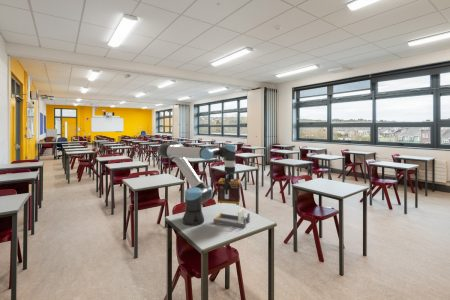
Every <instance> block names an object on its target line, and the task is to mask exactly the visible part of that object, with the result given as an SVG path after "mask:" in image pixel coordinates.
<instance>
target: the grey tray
mask: <svg viewBox="0 0 450 300" xmlns="http://www.w3.org/2000/svg"><path fill="white" fill-rule="evenodd" d="M246 217H247V219H246V218H244V221H243V222H242V223H238V215H234V214H230V213H229V214H227V213H223V212H220V213H218V215H217V216H215V217H214V218H213V220H212V221H213V224H220V225H224V226H231V227H236V228H237V227H238V228H242V229H243V228H244V229H245V228H246V227H247V224H248V223H250V221H251V216H250V213H247V216H246Z"/></svg>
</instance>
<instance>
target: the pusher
mask: <svg viewBox="0 0 450 300" xmlns="http://www.w3.org/2000/svg"><path fill="white" fill-rule="evenodd" d="M237 216H238V223H242V222H243V221H244V218H246V219H247V216H245V207H242V208H241V209H240V210H239V211H238V212H237Z"/></svg>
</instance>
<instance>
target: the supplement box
mask: <svg viewBox="0 0 450 300" xmlns="http://www.w3.org/2000/svg"><path fill="white" fill-rule="evenodd" d="M241 181H242V179H241V178H234V179H231V181H230V182H228V183H229V189H228V190H229V199H225V190H224V183H225V177H224V178H223V177H220V178H219V180H218V181H217V203H218V204H219V203H220V204H230V205H231V204H234V205H235V204H236V205H239V204H240V201H241Z"/></svg>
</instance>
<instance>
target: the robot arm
mask: <svg viewBox="0 0 450 300" xmlns="http://www.w3.org/2000/svg"><path fill="white" fill-rule="evenodd" d="M157 150H158V154H159V156H160V157H162V158H164V159H170V160H171V161H172V162H174V163H175V164H176V166H177V168H178V169H179V171H180V172H181V173H182V175H183V177H184V178H185V179H186V181H187V182H188V184H189V185H190V187H189V188H188V189H186V190H185V192H184V210H185V211H184V213H183V217H182V223H183V224H184V226H185V225H186V226H194V227H195V226H198V225H199V226H200V225H202V224H203V223H205V218H204V214H203V209H202V206H203V205H202V204H204V203H206V202H208V201H209V200H211V199H212V197H213V194H214V193H213V192H214V191H213V187H211V186H210V185H208V184H206V182H205V180H204V181H202V180H201V178H200V177H199V175H198V174H197V172H196V171H195V169H193V167H192V165H191V163H190V162H189V160H188V159H202V160H205V161H209V160H212V159H216V158H224V172H225V173H226V174H225V175H224V178H225V183H224V190H225V199H229V190H228V189H229V183H228V182H230V181H231V179H235V172H236V163H237V162H236V152H237V151H236V145H235V144H229V143H226V144H225V145H224V146H216V145H215V146H210V147H196V146H195V147H193V146H184V145H183V143H181V142H179V141H171V142H163V143H162V144H160V145H159V147H158V149H157ZM187 158H188V159H187Z"/></svg>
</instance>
